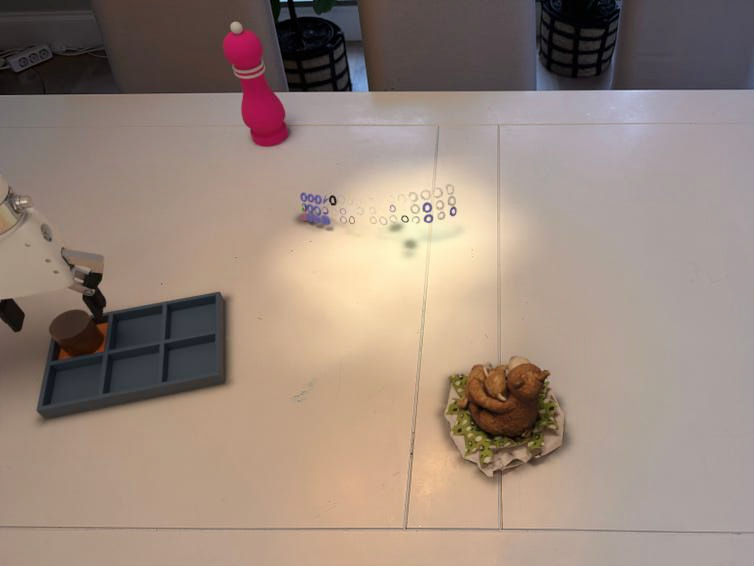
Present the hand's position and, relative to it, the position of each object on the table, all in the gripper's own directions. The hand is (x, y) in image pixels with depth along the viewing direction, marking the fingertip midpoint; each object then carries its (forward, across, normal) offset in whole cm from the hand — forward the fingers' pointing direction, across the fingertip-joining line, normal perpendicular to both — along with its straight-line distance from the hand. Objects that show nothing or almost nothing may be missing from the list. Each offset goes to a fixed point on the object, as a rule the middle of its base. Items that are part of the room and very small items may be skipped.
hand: (60, 316), depth 86 cm
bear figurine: (+5, -52, +25) cm, 58 cm away
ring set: (+5, -41, -12) cm, 44 cm away
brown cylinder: (+5, -1, 0) cm, 5 cm away
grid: (+6, -8, +4) cm, 10 cm away
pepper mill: (+6, -27, -42) cm, 50 cm away
